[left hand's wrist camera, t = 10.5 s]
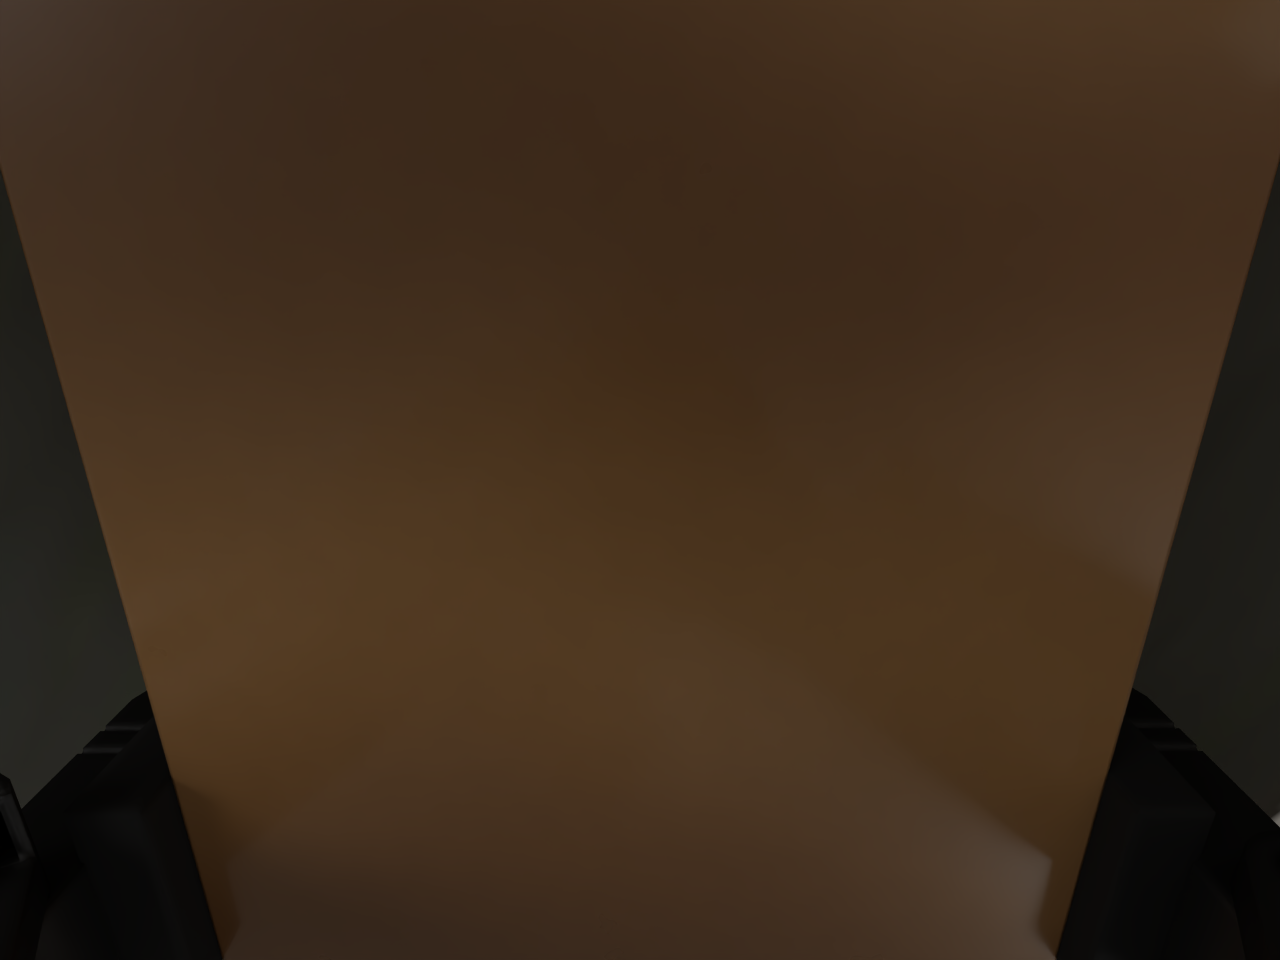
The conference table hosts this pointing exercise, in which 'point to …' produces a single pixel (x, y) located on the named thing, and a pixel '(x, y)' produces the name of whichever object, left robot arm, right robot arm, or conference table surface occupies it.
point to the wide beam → (639, 443)
